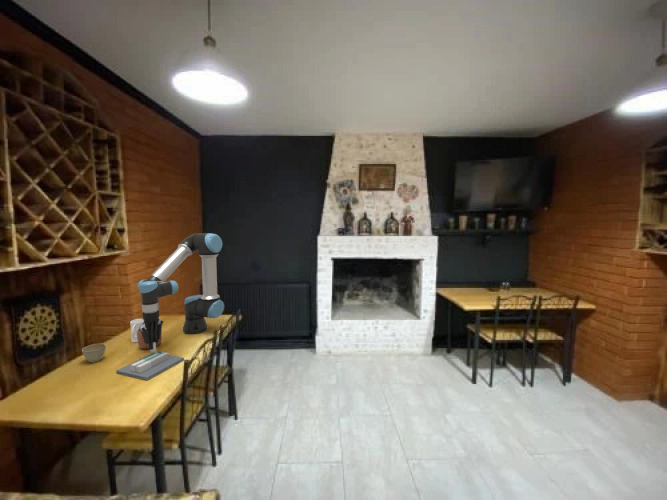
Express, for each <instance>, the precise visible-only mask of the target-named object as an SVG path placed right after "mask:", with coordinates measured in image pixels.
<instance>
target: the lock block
mask: <svg viewBox="0 0 667 500" xmlns="http://www.w3.org/2000/svg"><path fill="white" fill-rule="evenodd" d="M153 354H155V353H154V352H150V351H148V352H146V353H144V354H141V355H139V357H138V360H142V359H144V358H147V357H149V356H151V355H153Z"/></svg>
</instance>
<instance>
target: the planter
mask: <svg viewBox="0 0 667 500" xmlns="http://www.w3.org/2000/svg"><path fill="white" fill-rule="evenodd" d="M145 328H146V327H145ZM162 334H163V332H162V329H161V336H160V339H159V340H158V342H157V347H158V346H159V345H160V344H161V342H162V341H163V340H162V337H163V336H162ZM137 339H138V342H137V345H138V346H139V348H141V349H143V350H150V349H149V344H146V343H145V342H144V339H143V336H142V333H141V331H140V330H139V329H138V330H137Z"/></svg>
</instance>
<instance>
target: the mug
mask: <svg viewBox="0 0 667 500" xmlns="http://www.w3.org/2000/svg"><path fill="white" fill-rule="evenodd" d="M143 323H144V320H143V318H135V319H133V320H131V321H130V335H131V336H130V337H131V341H130V342H131V343H138V339H137V330H138V329H139V328H140V327H142V326H143Z"/></svg>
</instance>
